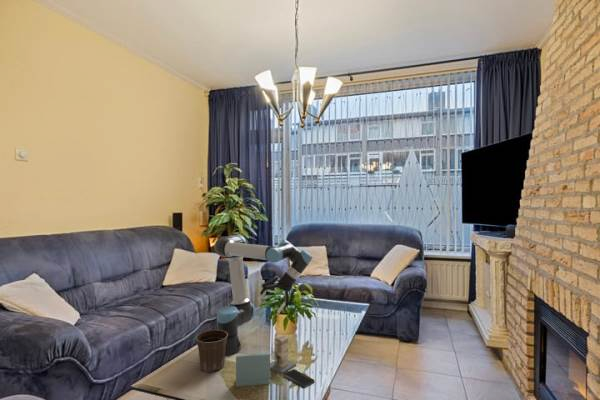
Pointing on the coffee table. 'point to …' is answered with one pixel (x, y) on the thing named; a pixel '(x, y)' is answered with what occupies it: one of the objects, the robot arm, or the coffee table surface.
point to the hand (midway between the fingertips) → (268, 306)
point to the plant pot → (212, 349)
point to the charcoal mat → (282, 370)
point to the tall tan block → (281, 351)
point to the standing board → (252, 369)
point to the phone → (298, 378)
